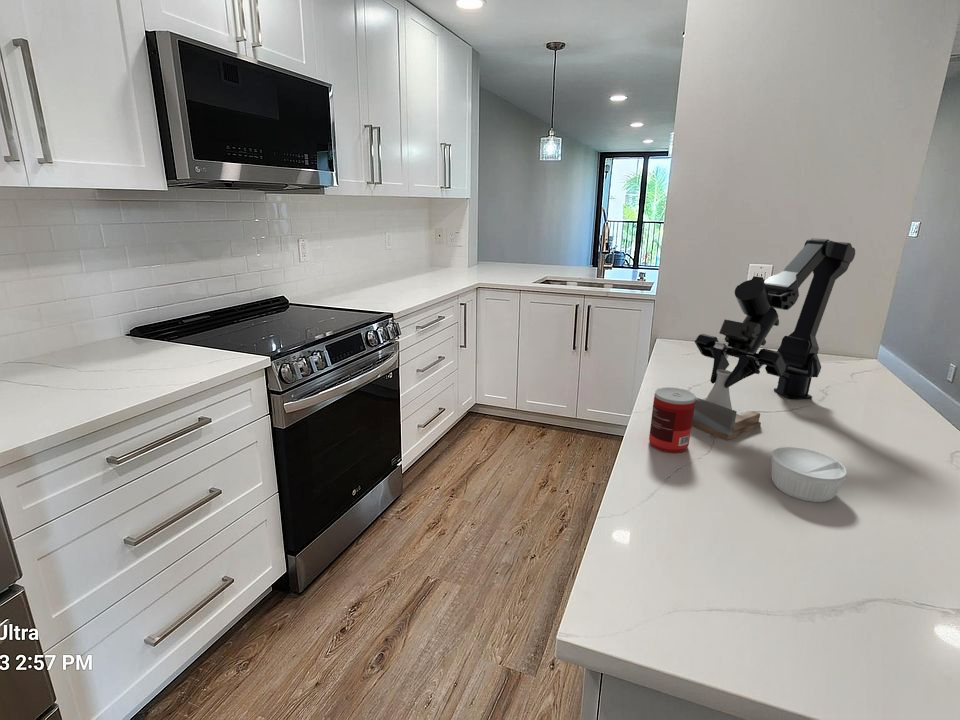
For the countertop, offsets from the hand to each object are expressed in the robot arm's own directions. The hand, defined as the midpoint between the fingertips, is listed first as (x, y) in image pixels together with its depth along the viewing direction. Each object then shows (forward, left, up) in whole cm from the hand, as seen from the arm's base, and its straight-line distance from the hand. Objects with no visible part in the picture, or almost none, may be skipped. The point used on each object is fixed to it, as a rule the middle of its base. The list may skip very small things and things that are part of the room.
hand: (718, 384), depth 115 cm
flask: (-1, -1, -7) cm, 8 cm away
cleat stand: (-1, -1, -9) cm, 9 cm away
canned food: (+15, +9, -10) cm, 20 cm away
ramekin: (-1, +27, -10) cm, 29 cm away
